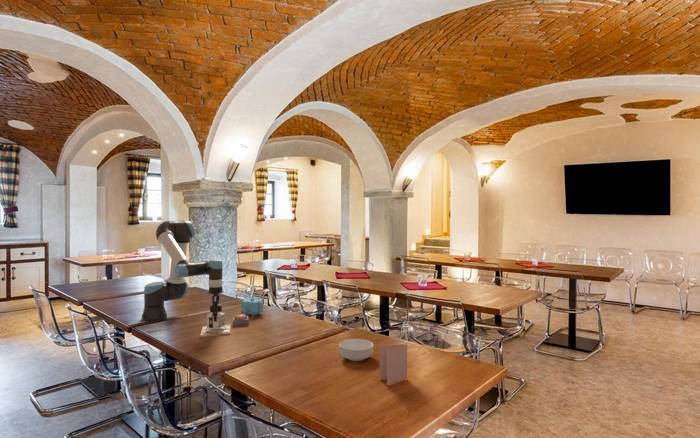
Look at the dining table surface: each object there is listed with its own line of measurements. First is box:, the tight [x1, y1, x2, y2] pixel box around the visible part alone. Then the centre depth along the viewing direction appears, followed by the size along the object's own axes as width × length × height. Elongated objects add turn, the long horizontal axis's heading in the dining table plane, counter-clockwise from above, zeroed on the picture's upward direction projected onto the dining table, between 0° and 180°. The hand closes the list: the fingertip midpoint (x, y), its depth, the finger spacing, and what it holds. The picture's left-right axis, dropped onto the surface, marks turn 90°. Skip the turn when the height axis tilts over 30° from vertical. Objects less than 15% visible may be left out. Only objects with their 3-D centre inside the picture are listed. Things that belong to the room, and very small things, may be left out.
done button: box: [235, 313, 246, 320], centre depth 263 cm, size 6×6×2 cm
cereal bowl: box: [338, 338, 375, 362], centre depth 204 cm, size 17×17×7 cm
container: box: [206, 303, 226, 329], centre depth 247 cm, size 8×8×13 cm
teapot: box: [240, 296, 264, 318], centre depth 286 cm, size 16×18×11 cm
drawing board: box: [199, 323, 232, 338], centre depth 247 cm, size 18×16×1 cm
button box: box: [232, 315, 249, 327], centre depth 263 cm, size 9×9×4 cm
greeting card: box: [379, 344, 408, 386], centre depth 176 cm, size 11×7×15 cm, turn 92°
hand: (215, 324), depth 247 cm, fingers closed on container, 10 cm apart
